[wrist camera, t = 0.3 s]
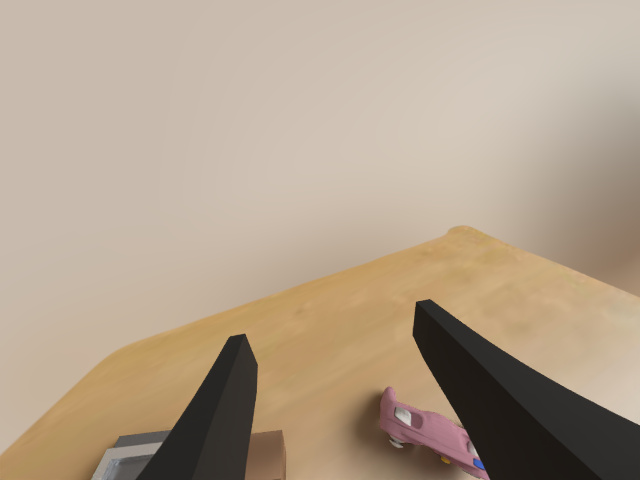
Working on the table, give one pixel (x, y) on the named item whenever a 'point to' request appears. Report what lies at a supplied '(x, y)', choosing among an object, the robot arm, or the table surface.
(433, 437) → the video game controller
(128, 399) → the table surface
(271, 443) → the wooden block
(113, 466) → the grey holder base
